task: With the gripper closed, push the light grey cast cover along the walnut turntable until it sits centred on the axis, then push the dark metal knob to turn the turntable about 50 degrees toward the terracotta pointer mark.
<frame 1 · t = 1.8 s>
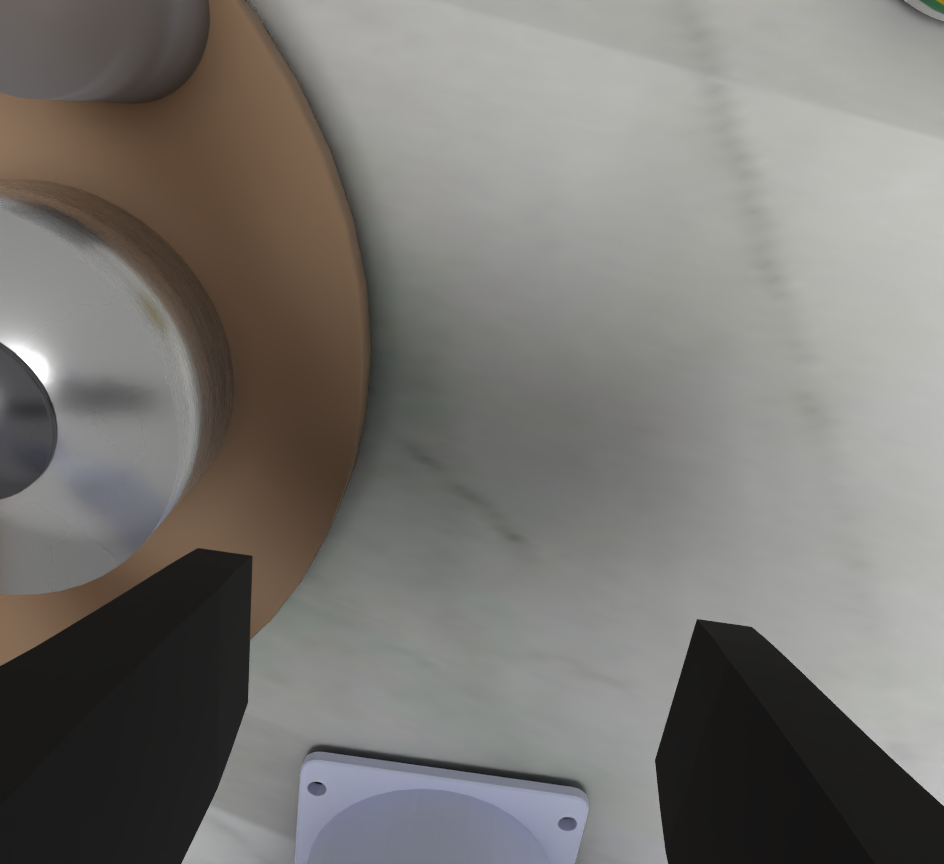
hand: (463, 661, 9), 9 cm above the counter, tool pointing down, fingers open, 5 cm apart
cast cover: (59, 364, 15), point 2 cm above the counter, touching turntable
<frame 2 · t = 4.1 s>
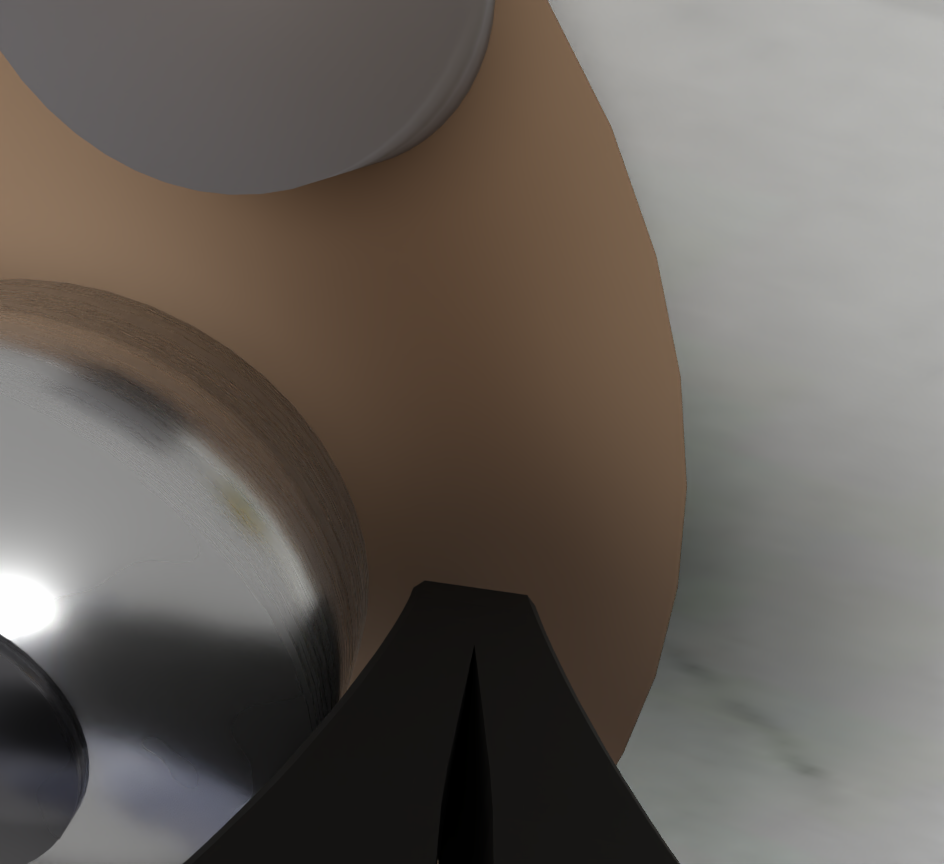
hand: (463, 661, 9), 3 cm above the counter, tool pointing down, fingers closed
cast cover: (83, 566, 9), point 2 cm above the counter, touching gripper
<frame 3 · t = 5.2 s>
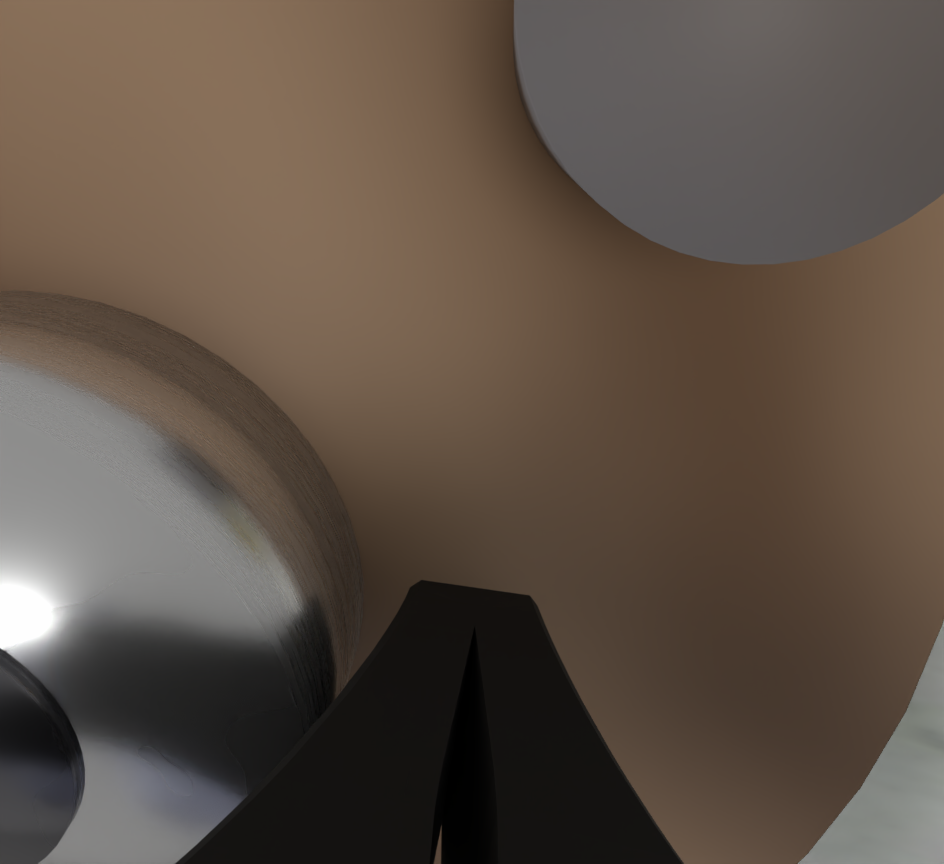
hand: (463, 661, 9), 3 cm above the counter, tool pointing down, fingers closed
turntable: (68, 611, 9), point 3 cm above the counter, hinge at 0.0°, touching cast cover
cast cover: (80, 574, 9), point 2 cm above the counter, touching turntable
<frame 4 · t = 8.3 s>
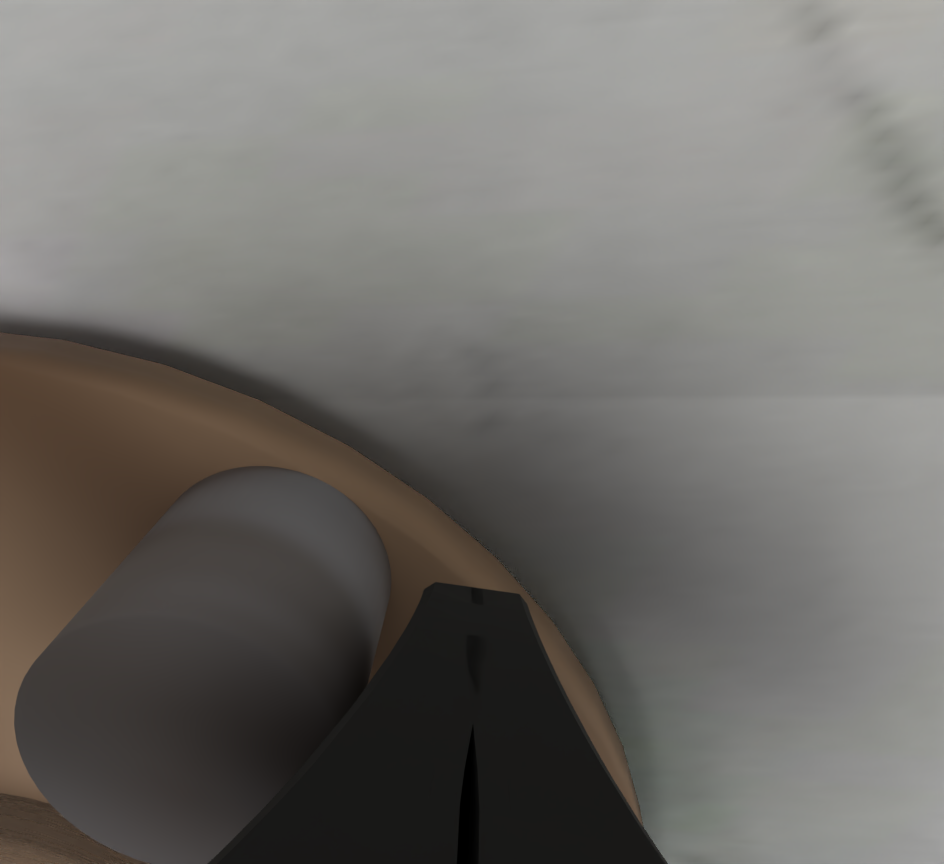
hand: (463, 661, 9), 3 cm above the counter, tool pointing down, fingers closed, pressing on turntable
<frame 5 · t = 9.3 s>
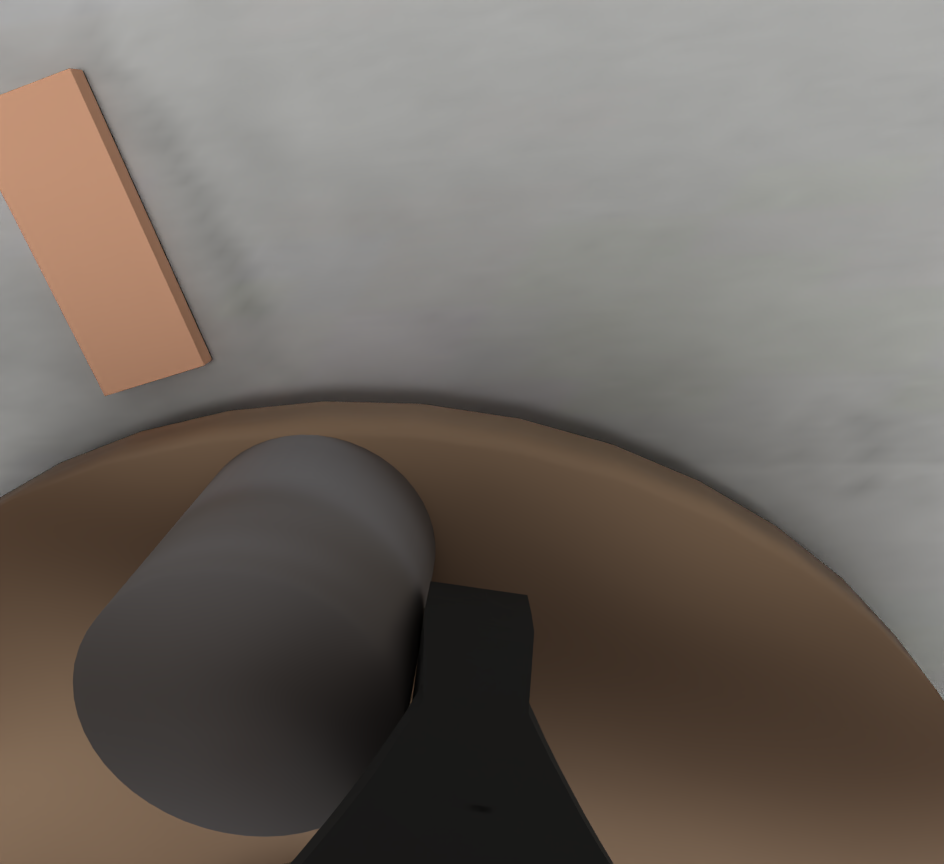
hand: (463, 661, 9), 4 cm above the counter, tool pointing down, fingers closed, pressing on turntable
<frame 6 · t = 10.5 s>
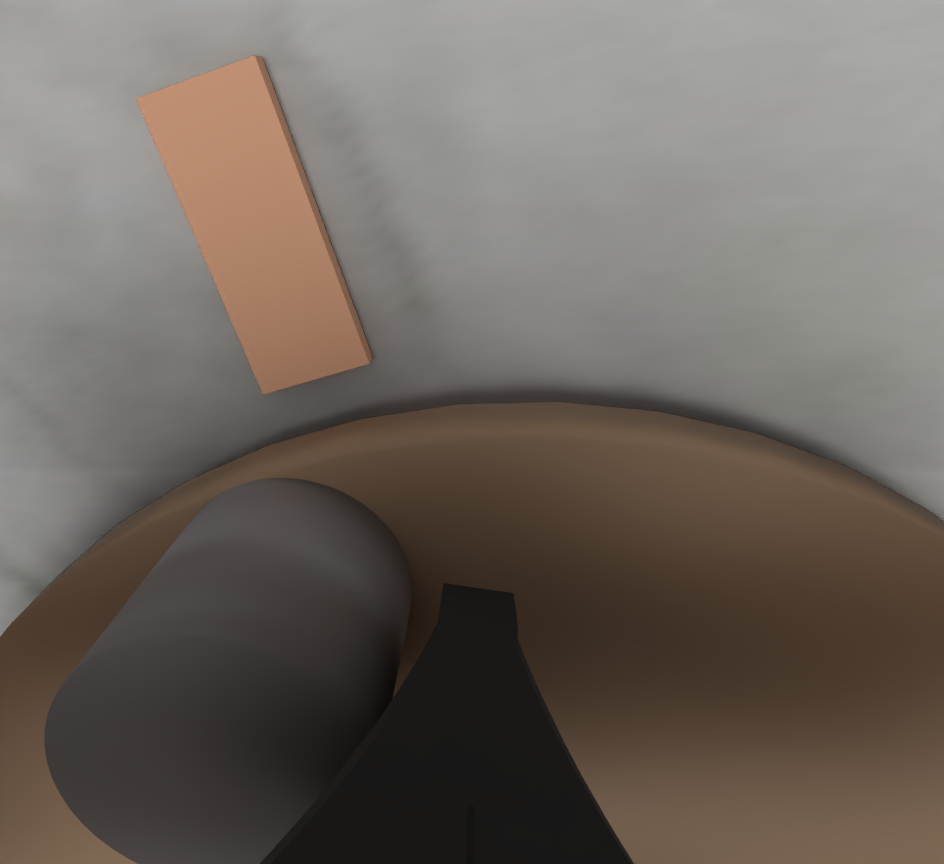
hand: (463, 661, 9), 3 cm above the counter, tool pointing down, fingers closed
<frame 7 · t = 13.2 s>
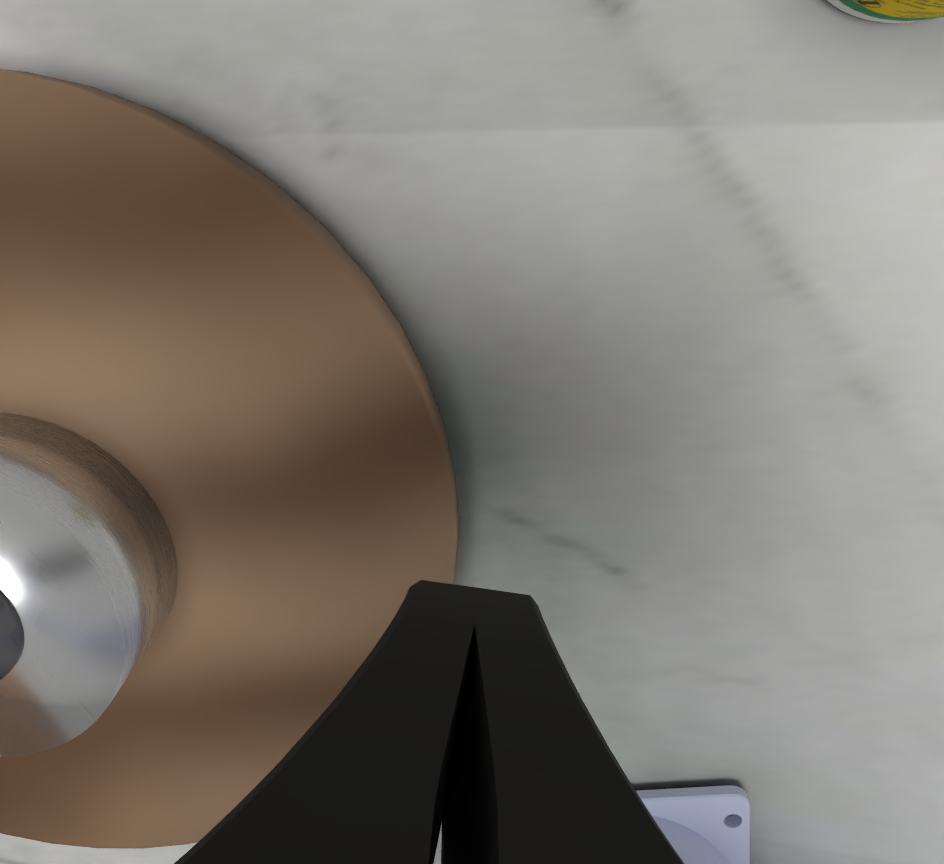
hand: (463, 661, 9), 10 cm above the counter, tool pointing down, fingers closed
turntable: (3, 557, 17), point 3 cm above the counter, hinge at 54.3°, touching cast cover
cast cover: (30, 551, 18), point 2 cm above the counter, touching turntable
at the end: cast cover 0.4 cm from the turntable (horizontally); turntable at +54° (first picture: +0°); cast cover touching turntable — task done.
